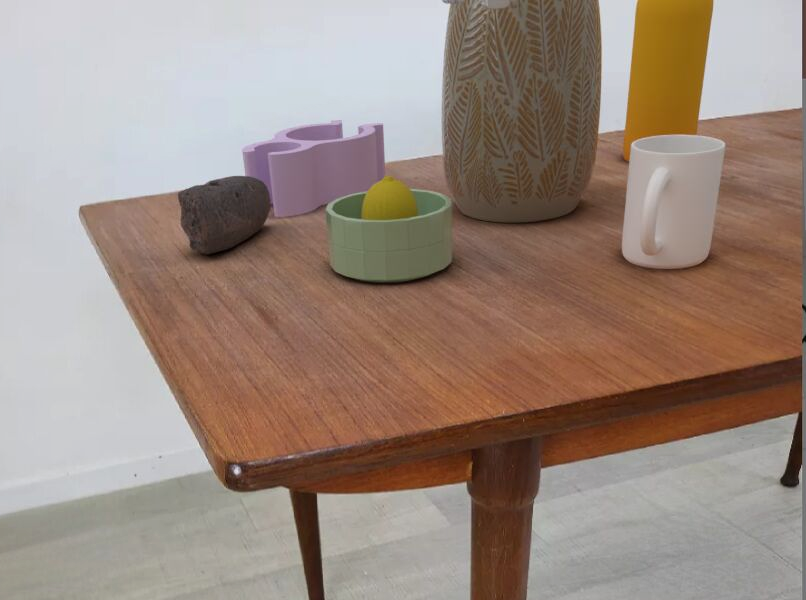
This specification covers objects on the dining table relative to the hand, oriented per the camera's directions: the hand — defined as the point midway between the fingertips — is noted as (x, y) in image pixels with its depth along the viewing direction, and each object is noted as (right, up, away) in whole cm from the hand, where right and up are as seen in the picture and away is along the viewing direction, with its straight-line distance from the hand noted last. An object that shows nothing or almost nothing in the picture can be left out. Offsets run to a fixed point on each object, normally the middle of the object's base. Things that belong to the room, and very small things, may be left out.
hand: (473, 5), depth 77 cm
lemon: (-6, -16, +17) cm, 24 cm away
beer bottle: (+29, +8, +49) cm, 58 cm away
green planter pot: (-6, -16, +17) cm, 24 cm away
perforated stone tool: (-24, -10, +27) cm, 37 cm away
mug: (+19, -17, +14) cm, 29 cm away
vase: (+8, -4, +33) cm, 34 cm away
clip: (-16, +1, +42) cm, 45 cm away
